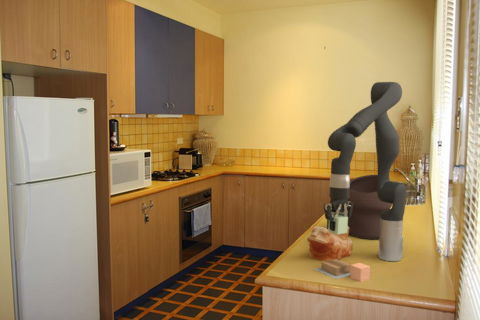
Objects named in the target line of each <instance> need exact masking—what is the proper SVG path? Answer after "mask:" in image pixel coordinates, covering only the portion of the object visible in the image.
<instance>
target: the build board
mask: <svg viewBox="0 0 480 320" xmlns="http://www.w3.org/2000/svg"><path fill="white" fill-rule="evenodd" d="M321 268H322V267H318V268H314V269H313V270H314V271H317V272H319V273H322V274H324V275H325V276H328V277H331V278H333V279H335V280H337V279H341V278H345V277H350V273H347V274H343V275H339V276H335V275H332V274H330V273H328V272H325V271H323V270H321Z"/></svg>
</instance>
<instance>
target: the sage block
mask: <svg viewBox="0 0 480 320" xmlns="http://www.w3.org/2000/svg"><path fill="white" fill-rule="evenodd" d="M333 216H334V215H333ZM332 218H333V217H332ZM335 222H336V225H335V231H331V230H330V228H329V226H328V232H332V233H335V234H343V233H347V226H348V217H345V216H341V215H338V216H337V217H336V221H335ZM329 225H330V221H329Z"/></svg>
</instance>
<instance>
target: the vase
mask: <svg viewBox="0 0 480 320" xmlns="http://www.w3.org/2000/svg"><path fill="white" fill-rule="evenodd" d="M377 176H378V174H366V175H362V176H358V177H355V178H352V179H350V197H349V199H348V201H349V202H353V203H354V205H353V210H352V214H351V217H350V218H348V227H349V233H348V236H349V235H350V236H352V237H355V238H360V239H365V240H379V234H380V214H381V212H382V211H384V210H389V209H391V208H392V205H393V203H387V202H382V201H380V200H379V198H378V194H377ZM389 181H391V180H390V179H389ZM348 214H349V211H348Z"/></svg>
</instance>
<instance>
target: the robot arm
mask: <svg viewBox="0 0 480 320" xmlns="http://www.w3.org/2000/svg"><path fill="white" fill-rule="evenodd" d="M402 96H403V89H402V86H401V84H400V83H398V82H396V81H377V82H374V83H373V84H372V86H371V89H370V103H371V104H370V105H367V106H366V107H364V108H362V109H360V110H358V112H356V113H355V114H354V115H353V116H352V117H351V118H350V119H349V120H348V121H347V122H346V123H345V124H343V125H341V126H340V127H338V128H337V129H336V130H334V131H333V132H332V133H331V134H330V135H329V137H328V139H327V146H328V148H329V149H330V150H331V151H334V152H340V153H339V156H338V157H334V158H332V159H331V162H330V176H329V177H330V178H329V189H328V190H329V191H328V193H329V194H328V196H329V198H330V199H329V203H328V204H326V203H325V204H324V205H323V213H324V217H325V220H327V219H328V220H329V221H330V225H329V228H330V230H331V231H335V225H336V222H335V221H336V217H337V216H338V214H339V213H340V215H341V216H345V217H348V218H350V217H351V214H352V210H353V205H354V203H353V202H349V201H348V199H349V197H350V181H351V163H352V160H353V158H354V153H355V151H356V146H357V142H356V141H357V140H356V138H359V137H360V136H362V134H364V133H365V131H366V130H367V129H368V128H369V127H370V126H371V125H372V124H373V123H374V131H375V133H374V134H375V150H376V162H377V165H376V166H377V175H378V176H377V194H378V198H379V200H380V201H382V202H387V203H392V206H391V208H390V209H389V210H384V211H382V212H381V214H380V234H379V239H378V255H377V256H378V259H380V260H382V261H387V262H400V261H401V259H403V250H404V236H403V226H404V225H403V224H404V215H405V212H406V211H405V210H406V200H407V187H406V184H405V183H403V182H398V181H391V180H390V170H391V168H392V166H393V164H394V162H395V161H396V160H397V159H398V157H399V154H400V136H399V133H398V131H397V129H396V127H395V126H394V124H393V123H392V121H391V120H390V117H389V115H388V111H389V110H390V109H392V108H393V107H394V106H395V105H397V104H399V102H400V101H401V99H402ZM389 180H390V181H389ZM333 211H334V212H335V213H333ZM348 211H349V214H348ZM328 215H329V216H328ZM333 215H334V216H333ZM332 217H333V218H332Z"/></svg>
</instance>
